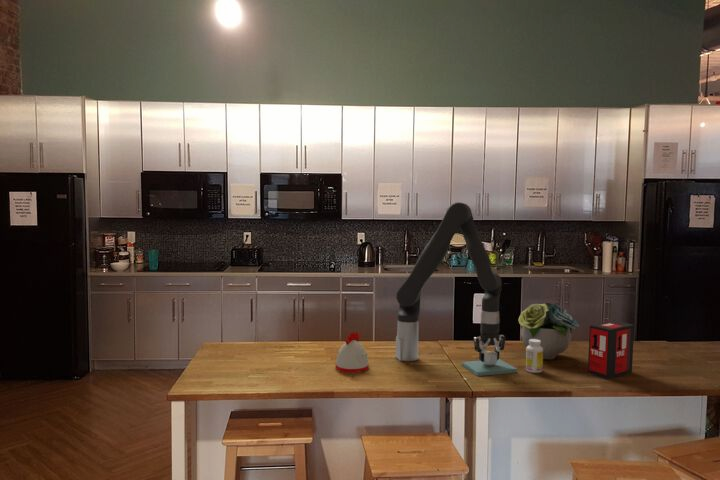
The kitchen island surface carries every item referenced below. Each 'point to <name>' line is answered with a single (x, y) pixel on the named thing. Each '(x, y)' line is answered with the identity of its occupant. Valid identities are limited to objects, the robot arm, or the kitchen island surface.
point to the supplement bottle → (534, 356)
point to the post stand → (489, 367)
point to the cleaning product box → (610, 349)
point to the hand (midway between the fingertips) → (489, 360)
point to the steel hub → (490, 358)
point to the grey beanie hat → (352, 355)
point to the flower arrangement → (547, 328)
